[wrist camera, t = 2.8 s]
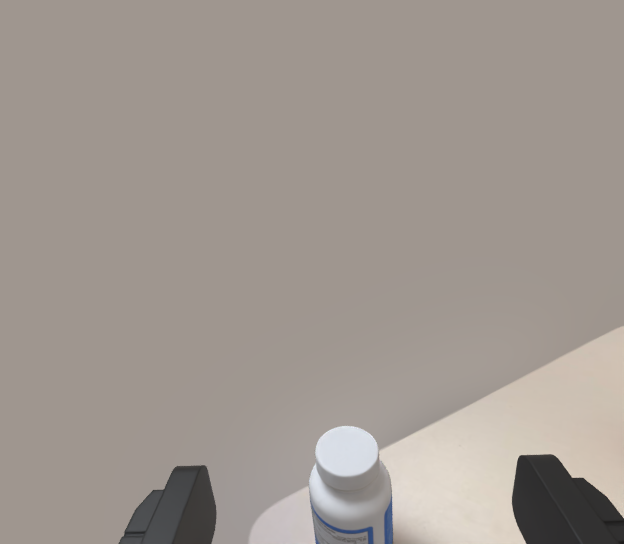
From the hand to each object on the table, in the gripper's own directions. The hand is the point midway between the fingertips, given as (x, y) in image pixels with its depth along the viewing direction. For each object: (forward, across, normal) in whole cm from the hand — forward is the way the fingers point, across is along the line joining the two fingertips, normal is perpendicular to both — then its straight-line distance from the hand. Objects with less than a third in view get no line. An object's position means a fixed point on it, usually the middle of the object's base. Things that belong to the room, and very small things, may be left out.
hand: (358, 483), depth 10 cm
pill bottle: (+11, 0, +20) cm, 23 cm away
